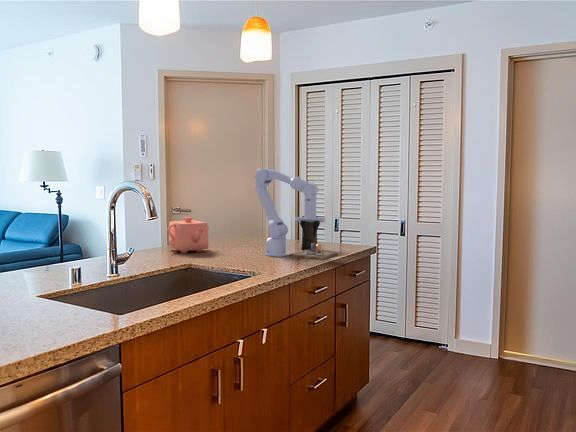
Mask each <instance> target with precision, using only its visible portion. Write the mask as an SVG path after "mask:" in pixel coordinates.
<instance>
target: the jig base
mask: <svg viewBox="0 0 576 432" xmlns="http://www.w3.org/2000/svg"><path fill="white" fill-rule="evenodd" d="M305 251H306V250H299V251H297V252H293V253H288V254H289V255H288V257H289V258H296V259H297V258H298V259H306V260H317V261H323V260H327V259H329V258H333V257H336V256H338V255H339V252H335V251H323V249H321V251H322V255H318V256H317V255H315V254H307V253H305ZM311 251H313V252H315V251H316V243H311Z"/></svg>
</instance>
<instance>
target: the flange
mask: <svg viewBox="0 0 576 432" xmlns="http://www.w3.org/2000/svg"><path fill="white" fill-rule="evenodd" d="M321 250H322V244H321V243H317V248H316V251H315V252H313V251H311V250H306V251H305V253H307V254H315V255H317V256H318V255H322V251H321Z"/></svg>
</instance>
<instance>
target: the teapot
mask: <svg viewBox="0 0 576 432" xmlns="http://www.w3.org/2000/svg"><path fill="white" fill-rule="evenodd" d="M183 218H184V220H174V221H169V225H168V227H167V228H166V229H167V230H166V231H167V234H168V244H169V245H168V246H169V248H172V249H174V252H180V254H188V253H187V252H190V251H195V252H197V253H203V250H207V249H208V250H209V228H210V227H209V225H208V222H205V221H200V220H196V219H195V220H194V219H193V217H192V216H185V217H183Z"/></svg>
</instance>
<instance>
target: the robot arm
mask: <svg viewBox="0 0 576 432" xmlns="http://www.w3.org/2000/svg"><path fill="white" fill-rule="evenodd" d="M253 177H254V179H255V183H254V184H255V188H254V189H255V193H256V194H257V197H258V198H259V201H260V204H261V205H262V208H263V210H264V213H265V215H266V217H267V220H268V224H267V226H268V233H269V237H268V238H267V239H266V242H265V254H264V256H269V257H277V258H282V257H286V256H289V254H290V253H286V251H287V250H286V249H287V248H286V247H287V243H286V242H287V239H286V238H287V237H286V236H287V234H288V233H289V228H288V226H287V224H286V223H285V222H284V220H283V219H282V218H281V217H279V214H278V212H277V210H276V207H275V204H274V202H273V200H272V198H271V195H270V193H269V191H268V187H269V185H270V183H272V181H274V180H278V181H281V182H283V183H285V184H287V185H288V184H289V186H290V188H291V189H294V190H295V191H298V192H300V193H303V196H304V199H303V200H304V203H303V204H304V205H303V208H304V209H303V211H304V212H303V216H304V217H302V216H295V217H294V218H295V219H294V221H295V222H299V225H300V227H301V230H302V229H303V233H304V237H306V236H307V223H308V222H313V237H316V232H317V233H318V229H319V226H320V225H321V223H325V222H326V218H325V217H318V218H316V216H317V194H318V192H319V187H318V186H317V185H316V184H315V183H314V182H311V183H310V181H309V180H304V179H302V177H300V176H294V177H291V176H289V175H287V174H286V173H285V174H284V173H282V172H281V171H278V170H275V169H272V168H262V167H260V168H258V169H257V170H256V171H255V174H254V176H253ZM309 220H314V221H309Z"/></svg>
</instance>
